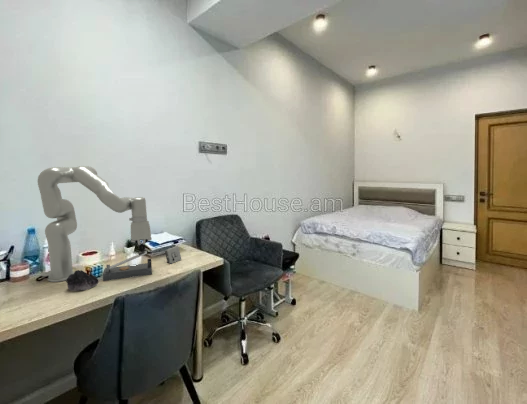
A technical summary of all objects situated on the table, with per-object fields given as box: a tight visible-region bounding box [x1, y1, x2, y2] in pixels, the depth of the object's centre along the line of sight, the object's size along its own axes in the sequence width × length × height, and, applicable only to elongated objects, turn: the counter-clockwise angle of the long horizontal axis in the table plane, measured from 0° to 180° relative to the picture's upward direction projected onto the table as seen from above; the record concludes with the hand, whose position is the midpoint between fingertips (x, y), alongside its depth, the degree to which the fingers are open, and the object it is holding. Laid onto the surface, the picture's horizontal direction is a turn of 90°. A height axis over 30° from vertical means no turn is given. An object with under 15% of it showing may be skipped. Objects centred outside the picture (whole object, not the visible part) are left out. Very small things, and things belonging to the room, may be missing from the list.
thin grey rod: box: [109, 250, 148, 270], centre depth 150 cm, size 22×3×2 cm, turn 112°
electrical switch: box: [164, 245, 182, 264], centre depth 174 cm, size 9×5×9 cm, turn 152°
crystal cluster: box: [65, 269, 99, 292], centre depth 136 cm, size 13×14×10 cm
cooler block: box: [102, 258, 153, 282], centre depth 151 cm, size 24×9×7 cm, turn 114°
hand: (142, 251), depth 153 cm, fingers closed
